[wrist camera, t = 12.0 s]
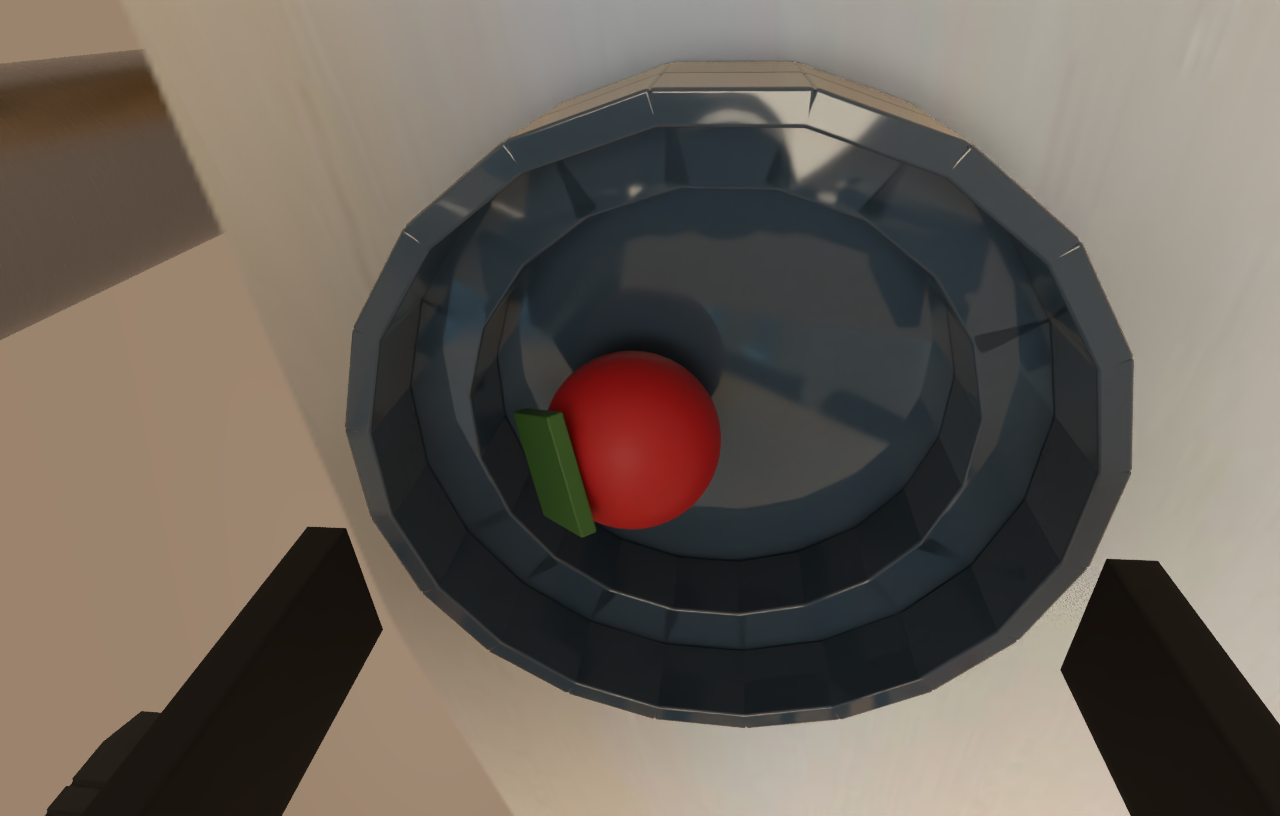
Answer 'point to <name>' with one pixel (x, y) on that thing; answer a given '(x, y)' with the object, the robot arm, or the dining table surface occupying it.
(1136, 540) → the dining table surface
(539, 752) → the dining table surface
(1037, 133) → the dining table surface
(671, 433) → the strawberry
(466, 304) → the bowl
